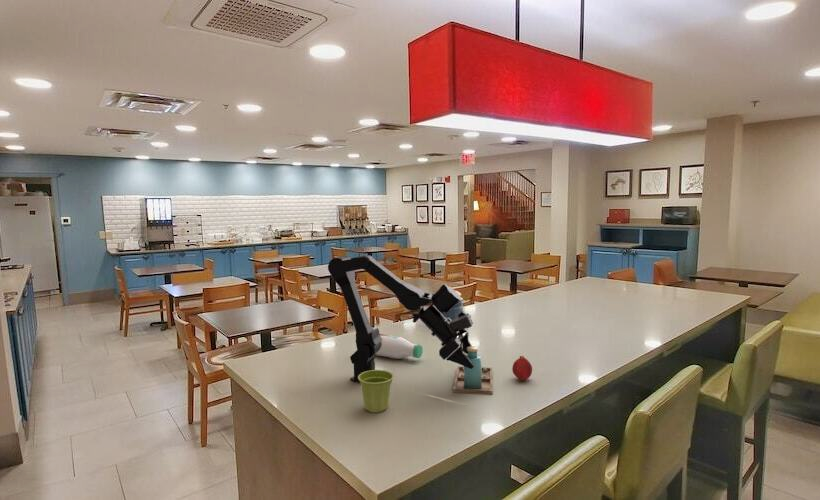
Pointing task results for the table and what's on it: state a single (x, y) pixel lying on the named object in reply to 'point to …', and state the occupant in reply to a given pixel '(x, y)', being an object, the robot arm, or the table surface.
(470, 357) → the bottle
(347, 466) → the table surface
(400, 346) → the milk bottle
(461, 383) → the double tray
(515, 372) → the onion
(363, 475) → the table surface
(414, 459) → the table surface
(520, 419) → the table surface
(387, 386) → the plant pot
